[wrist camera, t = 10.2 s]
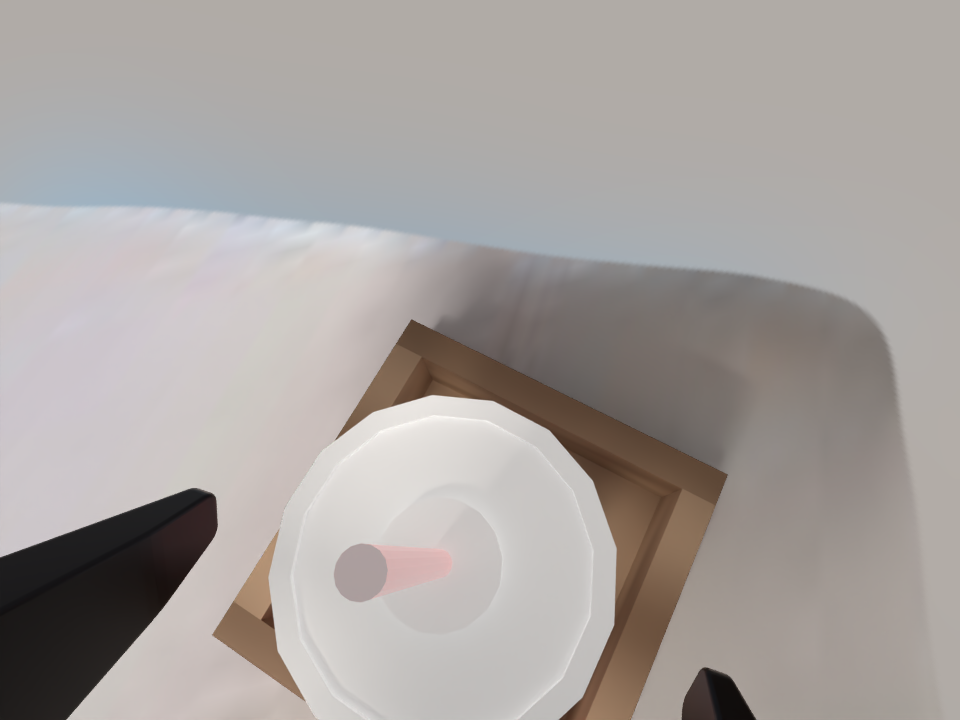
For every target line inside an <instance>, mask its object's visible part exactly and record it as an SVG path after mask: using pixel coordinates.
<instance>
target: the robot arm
mask: <svg viewBox="0 0 960 720" xmlns="http://www.w3.org/2000/svg"><path fill="white" fill-rule="evenodd" d="M217 527H218V522H217V504H216V497H215V496H214V494H212V493H210V492H207V491H204V490H201V489H198V488H191V489H188V490H185V491H182V492H180V493H177V494H174V495H171V496H169V497H166V498H163V499H160V500H158V501H155V502H152V503H149V504H147V505H144V506H141V507H138V508H135V509H133V510H130V511H127V512H124V513H122V514H119V515H116V516H113V517H111V518H108V519H105V520H102V521H100V522H97V523H94V524H91V525H89V526H86V527H83V528H80V529H78V530H75V531H72V532H69V533H67V534H64V535H61V536H58V537H55V538H53V539H50V540H47V541H44V542H42V543H39V544H36V545H33V546H31V547H28V548H25V549H22V550H20V551H17V552H14V553H11V554H9V555H6V556H3V557H0V720H66V719H67V718H68V717H69V716H70V715H71V714H72V713H73V711H74V710H75V709H76V708H77V707H78V706H79V705H80V703H81V702H82V701H83V700H84V699H85V698H86V697H87V695H88V694H89V693H90V692H91V691H92V690H93V688H94V687H95V686H96V685H97V684H98V683H99V682H100V680H101V679H102V678H103V677H104V676H105V675H106V674H107V672H108V671H109V670H110V669H111V668H112V667H113V666H114V664H115V663H116V662H117V661H118V660H119V659H120V657H121V656H122V655H123V654H124V653H125V652H126V651H127V649H128V648H129V647H130V646H131V645H132V644H133V643H134V641H135V640H136V639H137V638H138V637H139V636H140V635H141V633H142V632H143V631H144V630H145V629H146V628H147V626H148V625H149V624H150V623H151V622H152V621H153V619H154V618H155V617H156V616H157V615H158V613H159V612H160V611H161V610H162V609H163V607H164V606H165V605H166V603H167V602H168V601H169V599H170V598H171V597H172V595H173V594H174V592H175V591H176V590H177V588H178V587H179V585H180V584H181V583H182V581H183V580H184V579H185V577H186V576H187V574H188V573H189V572H190V570H191V569H192V567H193V566H194V565H195V563H196V562H197V561H198V559H199V558H200V556H201V555H202V554H203V552H204V551H205V549H206V548H207V547H208V545H209V544H210V543H211V541H212V540H213V538H214V536H215V534H216V531H217ZM682 720H756V718H755V717H754V715H753V713H752V712H751V710H750V708H749V707H748V705H747V703H746V701H745V700H744V698H743V696H742V695H741V693H740V691H739V690H738V688H737V686H736V684H735V683H734V681H733V680H732V679H731V678H730V677H729V676H728V675H727V674H724V673H721V672H719V671H716V670H713V669H710V668H706V667H705V668H702V669H701V670H700V671H699V673H698V675H697V677H696V678H695V680H694V682H693V684H692V686H691V687H690V689H689V691H688V693H687V694H686V697H685V699H684V703H683V708H682Z"/></svg>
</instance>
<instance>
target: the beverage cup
mask: <svg viewBox="0 0 960 720" xmlns="http://www.w3.org/2000/svg"><path fill="white" fill-rule="evenodd" d="M616 553H617V548H616V545H615V543H614V540H613V537H612V534H611V531H610V528H609V526H608V523H607V520H606V517H605V514H604V511H603V508H602V506H601V503H600V500H599V497H598V494H597V491H596V489H595V486H594V483H593V481H592V479H591V478H590V477H589V476H588V475H587V474H586V472H585V471H584V470H583V469H582V468H581V467H580V465H579V464H578V463H577V462H576V461H575V460H574V458H573V457H572V456H571V455H570V454H569V453H568V451H567V450H566V449H565V448H564V447H563V446H562V444H561V443H560V442H559V441H558V440H557V439H556V437H555V436H554V435H553V434H552V433H551V432H550V431H549V430H548V429H546V428H544V427H542V426H540V425H538V424H536V423H534V422H533V421H531V420H529V419H527V418H525V417H523V416H521V415H519V414H517V413H515V412H513V411H511V410H510V409H508V408H506V407H504V406H502V405H500V404H498V403H496V402H494V401H488V400H477V399H467V398H457V397H447V396H436V395H431V396H427V397H424V398H421V399H417V400H414V401H410V402H407V403H403V404H400V405H396V406H393V407H389V408H386V409H382V410H379V411H376V412H373V413H371V414H370V415H369V416H367V417H366V418H365V419H363V420H362V421H361V422H359V423H358V424H357V425H355V426H354V427H353V428H351V429H350V430H349V431H347V432H346V433H345V434H343V435H342V436H341V437H339V438H338V439H337V440H335V441H334V442H333V443H331V444H330V445H329V446H327V447H326V448H325V449H323V450H322V451H321V452H320V454H319V455H318V457H317V459H316V460H315V462H314V463H313V465H312V466H311V468H310V469H309V471H308V472H307V474H306V476H305V477H304V479H303V480H302V482H301V483H300V485H299V486H298V488H297V489H296V491H295V493H294V494H293V496H292V497H291V499H290V500H289V502H288V503H287V505H286V506H285V508H284V512H283V517H282V521H281V525H280V529H279V534H278V538H277V542H276V547H275V551H274V555H273V559H272V564H271V568H270V572H269V577H268V579H269V587H270V595H271V603H272V610H273V618H274V626H275V634H276V642H277V650H278V653H279V654H280V656H281V658H282V660H283V661H284V663H285V665H286V667H287V669H288V670H289V672H290V674H291V676H292V677H293V679H294V681H295V683H296V685H297V686H298V688H299V690H300V692H301V694H302V695H303V697H304V699H305V701H306V702H307V704H308V706H309V708H310V710H311V711H312V713H313V715H314V717H315V718H317V719H318V720H559V719H560V718H561V717H562V716H563V715H564V714H565V713H566V712H567V711H569V710H570V709H571V708H572V707H573V706H574V705H575V704H576V703H577V702H578V701H579V700H580V699H581V698H582V697H583V695H584V693H585V691H586V688H587V686H588V684H589V682H590V679H591V677H592V675H593V672H594V670H595V668H596V666H597V663H598V661H599V659H600V656H601V654H602V652H603V650H604V647H605V645H606V643H607V640H608V638H609V636H610V633H611V631H612V629H613V627H614V616H615V584H616Z"/></svg>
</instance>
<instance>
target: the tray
mask: <svg viewBox="0 0 960 720" xmlns="http://www.w3.org/2000/svg"><path fill="white" fill-rule="evenodd" d="M431 395H436V396H447V397H457V398H467V399H477V400H488V401H494V402H496V403H498V404H500V405H502V406H504V407H506V408H508V409H510V410H511V411H513V412H515V413H517V414H519V415H521V416H523V417H525V418H527V419H529V420H531V421H533V422H534V423H536V424H538V425H540V426H542V427H544V428H546V429H548V430H549V431H550V432H551V433H552V434H553V435H554V436H555V437H556V439H557V440H558V441H559V442H560V443H561V444H562V446H563V447H564V448H565V449H566V450H567V451H568V453H569V454H570V455H571V456H572V457H573V458H574V460H575V461H576V462H577V463H578V464H579V465H580V467H581V468H582V469H583V470H584V471H585V472H586V474H587V475H588V476H589V477H590V478H591V479H592V481H593V483H594V486H595V489H596V491H597V494H598V497H599V500H600V503H601V506H602V508H603V511H604V514H605V517H606V520H607V523H608V526H609V528H610V531H611V534H612V537H613V540H614V543H615V545H616V548H617V553H616V584H615V616H614V627H613V629H612V631H611V633H610V636H609V638H608V640H607V643H606V645H605V647H604V650H603V652H602V654H601V656H600V659H599V661H598V663H597V666H596V668H595V670H594V672H593V675H592V677H591V679H590V682H589V684H588V686H587V688H586V691H585V693H584V695H583V697H582V698H581V699H580V700H579V701H578V702H577V703H576V704H575V705H574V706H573V707H572V708H571V709H570V710H569V711H567V712H566V713H565V714H564V715H563V716H562V717H561V718H560V719H559V720H631V718H632V715H633V713H634V710H635V707H636V705H637V702H638V700H639V697H640V695H641V692H642V690H643V687H644V685H645V682H646V680H647V677H648V675H649V672H650V670H651V667H652V665H653V662H654V660H655V657H656V655H657V652H658V649H659V647H660V644H661V642H662V639H663V637H664V634H665V632H666V629H667V627H668V624H669V622H670V619H671V617H672V614H673V612H674V609H675V607H676V604H677V602H678V599H679V597H680V594H681V591H682V589H683V586H684V584H685V581H686V579H687V576H688V574H689V571H690V569H691V566H692V564H693V561H694V559H695V556H696V554H697V551H698V549H699V546H700V544H701V541H702V539H703V536H704V533H705V531H706V528H707V526H708V523H709V521H710V518H711V516H712V513H713V511H714V508H715V506H716V503H717V501H718V498H719V496H720V493H721V491H722V488H723V486H724V483H725V481H726V478H727V474H725V473H723V472H721V471H719V470H717V469H715V468H713V467H711V466H709V465H707V464H705V463H703V462H701V461H699V460H697V459H695V458H693V457H691V456H689V455H687V454H685V453H683V452H681V451H679V450H676V449H674V448H672V447H670V446H668V445H666V444H664V443H662V442H660V441H658V440H656V439H654V438H652V437H650V436H648V435H646V434H644V433H642V432H640V431H638V430H636V429H634V428H632V427H630V426H628V425H626V424H623V423H621V422H619V421H617V420H615V419H613V418H611V417H609V416H607V415H605V414H603V413H601V412H599V411H597V410H595V409H593V408H591V407H589V406H587V405H585V404H583V403H581V402H579V401H577V400H575V399H573V398H570V397H568V396H566V395H564V394H562V393H560V392H558V391H556V390H554V389H552V388H550V387H548V386H546V385H544V384H542V383H540V382H538V381H536V380H534V379H532V378H530V377H528V376H526V375H524V374H522V373H520V372H518V371H515V370H513V369H511V368H509V367H507V366H505V365H503V364H501V363H499V362H497V361H495V360H493V359H491V358H489V357H487V356H485V355H483V354H481V353H479V352H477V351H475V350H473V349H471V348H469V347H467V346H465V345H462V344H460V343H458V342H456V341H454V340H452V339H450V338H448V337H446V336H444V335H442V334H440V333H438V332H436V331H434V330H432V329H430V328H428V327H426V326H424V325H422V324H420V323H418V322H416V321H414V320H412V319H411V321H410V323H409V324H408V326H407V327H406V329H405V331H404V332H403V334H402V335H401V337H400V338H399V340H398V342H397V343H396V345H395V346H394V348H393V350H392V351H391V353H390V354H389V356H388V357H387V359H386V361H385V362H384V364H383V365H382V367H381V369H380V370H379V372H378V373H377V375H376V376H375V378H374V380H373V381H372V383H371V384H370V386H369V388H368V389H367V391H366V392H365V394H364V395H363V397H362V399H361V400H360V402H359V403H358V405H357V407H356V408H355V410H354V411H353V413H352V414H351V416H350V418H349V419H348V421H347V422H346V424H345V426H344V427H343V429H342V430H341V432H340V433H339V435H338V437H337V438H336V440H337V439H338V438H339V437H341V436H342V435H343V434H345V433H346V432H347V431H349V430H350V429H351V428H353V427H354V426H355V425H357V424H358V423H359V422H361V421H362V420H363V419H365V418H366V417H367V416H369V415H370V414H371V413H373V412H376V411H379V410H382V409H386V408H389V407H393V406H396V405H400V404H403V403H407V402H410V401H414V400H417V399H421V398H424V397H427V396H431ZM278 534H279V530H278V532H277V533H276V535H275V536H274V538H273V540H272V541H271V543H270V544H269V546H268V548H267V549H266V551H265V552H264V554H263V555H262V557H261V559H260V560H259V562H258V563H257V565H256V567H255V568H254V570H253V571H252V573H251V574H250V576H249V578H248V579H247V581H246V582H245V584H244V586H243V587H242V589H241V590H240V592H239V593H238V595H237V597H236V598H235V600H234V601H233V603H232V605H231V606H230V608H229V609H228V611H227V612H226V614H225V616H224V617H223V619H222V620H221V622H220V624H219V625H218V627H217V628H216V630H215V631H214V633H213V636H214V637H216V638H217V639H218V640H220V641H221V642H223V643H224V644H225V645H227V646H228V647H230V648H231V649H232V650H234V651H235V652H237V653H238V654H239V655H241V656H242V657H244V658H245V659H246V660H248V661H249V662H251V663H252V664H253V665H255V666H256V667H258V668H259V669H261V670H262V671H263V672H265V673H266V674H268V675H269V676H270V677H272V678H273V679H275V680H276V681H277V682H279V683H280V684H282V685H283V686H284V687H286V688H287V689H289V690H290V691H291V692H293V693H294V694H296V695H297V696H298V697H300V698H301V699H303V700H304V701H305V699H304V697H303V695H302V694H301V692H300V690H299V688H298V686H297V685H296V683H295V681H294V679H293V677H292V676H291V674H290V672H289V670H288V669H287V667H286V665H285V663H284V661H283V660H282V658H281V656H280V654H279V653H278V650H277V642H276V634H275V626H274V618H273V610H272V603H271V595H270V587H269V579H268V577H269V572H270V568H271V564H272V559H273V555H274V551H275V547H276V542H277V538H278ZM305 702H306V701H305Z"/></svg>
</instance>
